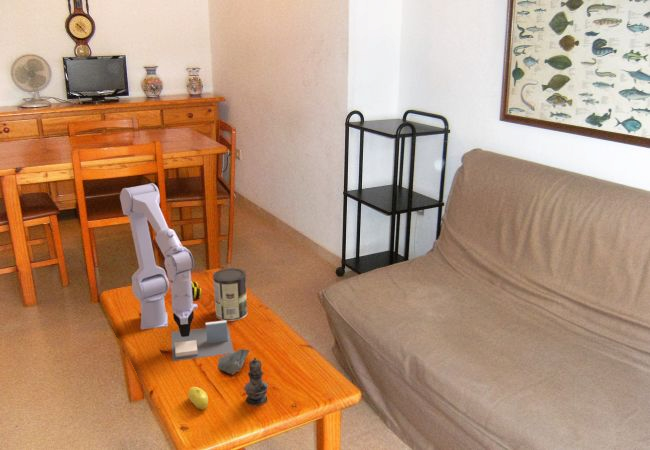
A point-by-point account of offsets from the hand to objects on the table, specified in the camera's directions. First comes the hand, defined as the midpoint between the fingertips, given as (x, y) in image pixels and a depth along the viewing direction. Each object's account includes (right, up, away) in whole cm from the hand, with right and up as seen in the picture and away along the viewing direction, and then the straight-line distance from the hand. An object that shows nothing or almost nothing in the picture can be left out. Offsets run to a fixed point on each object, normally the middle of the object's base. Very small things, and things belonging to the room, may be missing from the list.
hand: (185, 335), depth 172 cm
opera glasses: (-6, +7, +34) cm, 35 cm away
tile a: (0, -2, 0) cm, 2 cm away
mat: (+4, -3, +3) cm, 6 cm away
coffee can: (+10, +3, +20) cm, 23 cm away
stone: (+15, -7, -9) cm, 19 cm away
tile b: (+9, -2, +3) cm, 10 cm away
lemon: (+9, -12, -25) cm, 29 cm away
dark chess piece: (+23, -12, -23) cm, 35 cm away
